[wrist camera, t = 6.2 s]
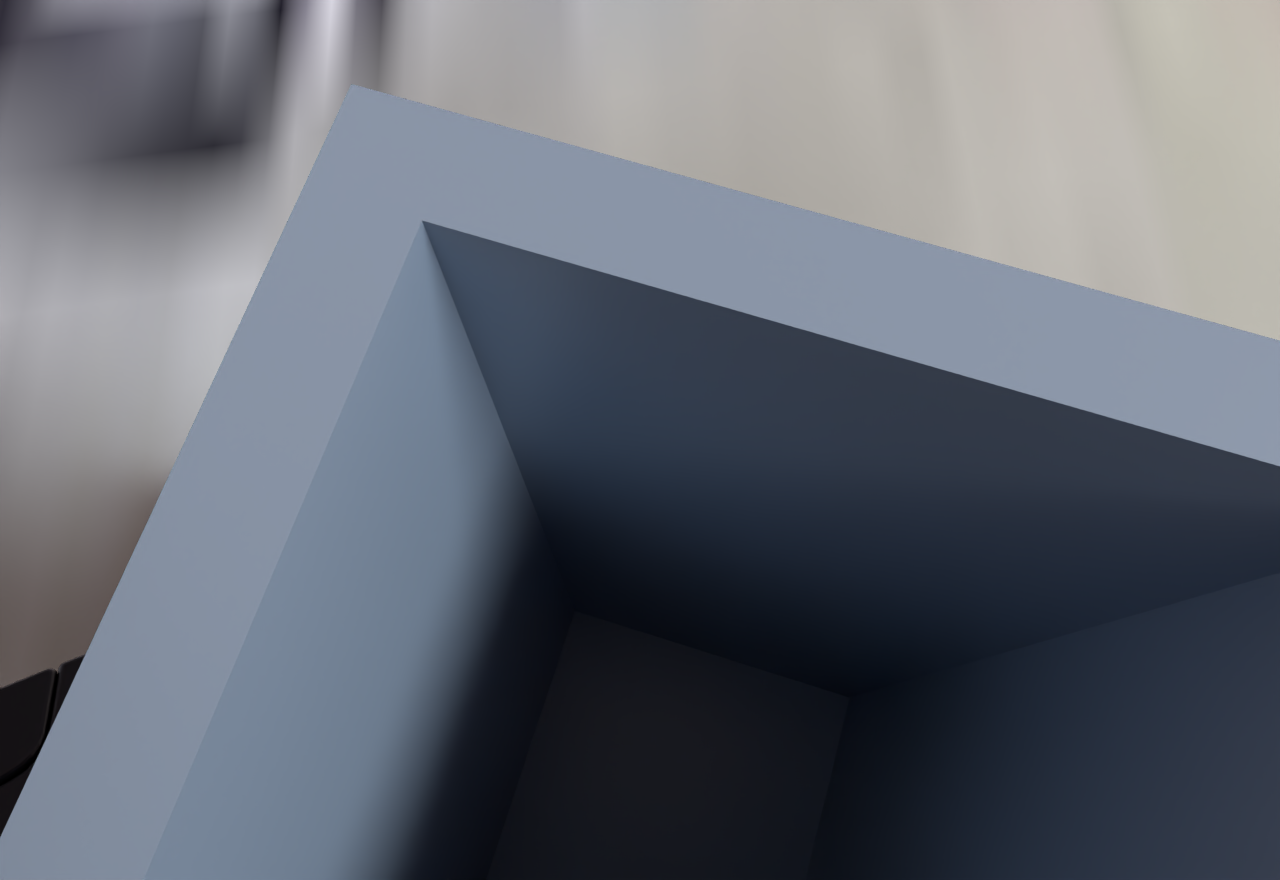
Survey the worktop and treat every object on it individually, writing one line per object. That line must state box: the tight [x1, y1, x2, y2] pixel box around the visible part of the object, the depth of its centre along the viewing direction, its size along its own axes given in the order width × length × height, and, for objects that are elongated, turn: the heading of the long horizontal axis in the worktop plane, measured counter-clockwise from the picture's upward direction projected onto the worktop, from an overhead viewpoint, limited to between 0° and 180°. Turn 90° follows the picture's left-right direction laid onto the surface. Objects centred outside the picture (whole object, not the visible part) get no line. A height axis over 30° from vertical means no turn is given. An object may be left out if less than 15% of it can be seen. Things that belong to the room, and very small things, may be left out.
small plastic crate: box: [0, 84, 1280, 880], centre depth 9 cm, size 5×5×12 cm
